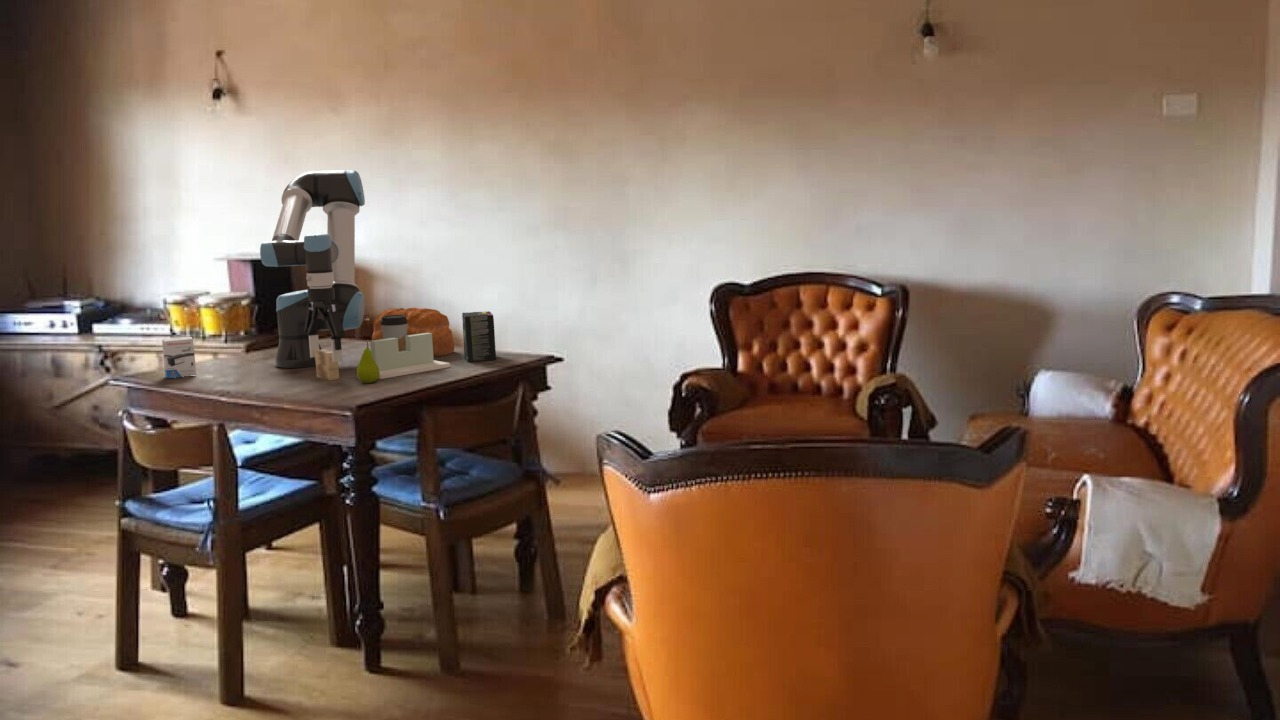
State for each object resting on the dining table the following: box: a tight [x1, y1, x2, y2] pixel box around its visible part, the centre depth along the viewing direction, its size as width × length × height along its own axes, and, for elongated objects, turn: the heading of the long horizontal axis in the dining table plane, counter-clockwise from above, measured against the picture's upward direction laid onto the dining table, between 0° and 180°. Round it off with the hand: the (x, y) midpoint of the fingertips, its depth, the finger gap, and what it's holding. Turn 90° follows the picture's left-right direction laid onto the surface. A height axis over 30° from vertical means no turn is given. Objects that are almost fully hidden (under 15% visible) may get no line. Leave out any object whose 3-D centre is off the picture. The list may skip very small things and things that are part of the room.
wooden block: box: [315, 348, 340, 381], centre depth 326 cm, size 8×3×8 cm, turn 44°
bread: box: [371, 307, 455, 358], centre depth 364 cm, size 14×26×16 cm, turn 70°
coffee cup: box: [381, 315, 408, 351], centre depth 346 cm, size 8×8×15 cm
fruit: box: [356, 340, 380, 384], centre depth 316 cm, size 6×6×12 cm
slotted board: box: [369, 333, 451, 380], centre depth 334 cm, size 14×24×10 cm, turn 134°
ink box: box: [161, 336, 197, 379], centre depth 334 cm, size 8×5×12 cm, turn 117°
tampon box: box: [461, 311, 497, 363], centre depth 351 cm, size 11×9×15 cm
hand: (326, 359), depth 325 cm, fingers open, 13 cm apart
